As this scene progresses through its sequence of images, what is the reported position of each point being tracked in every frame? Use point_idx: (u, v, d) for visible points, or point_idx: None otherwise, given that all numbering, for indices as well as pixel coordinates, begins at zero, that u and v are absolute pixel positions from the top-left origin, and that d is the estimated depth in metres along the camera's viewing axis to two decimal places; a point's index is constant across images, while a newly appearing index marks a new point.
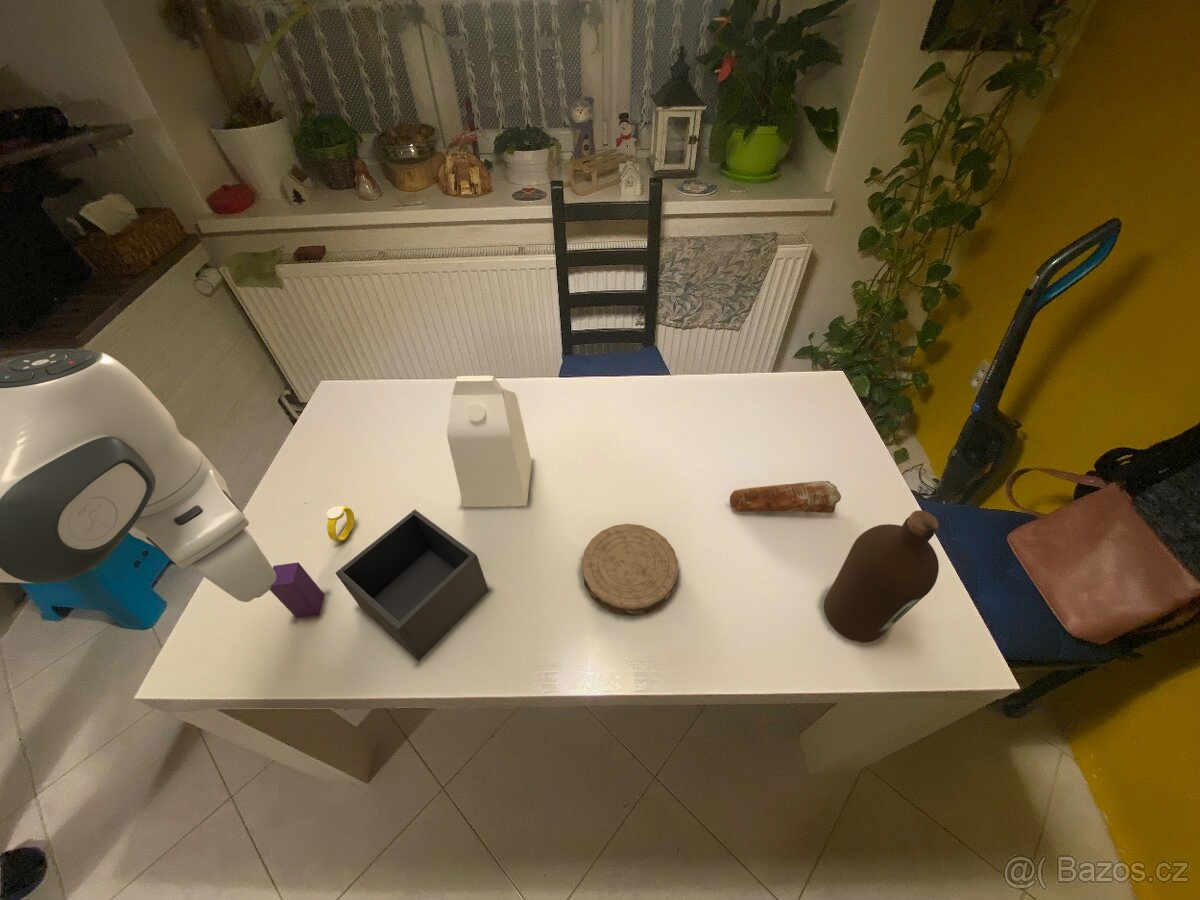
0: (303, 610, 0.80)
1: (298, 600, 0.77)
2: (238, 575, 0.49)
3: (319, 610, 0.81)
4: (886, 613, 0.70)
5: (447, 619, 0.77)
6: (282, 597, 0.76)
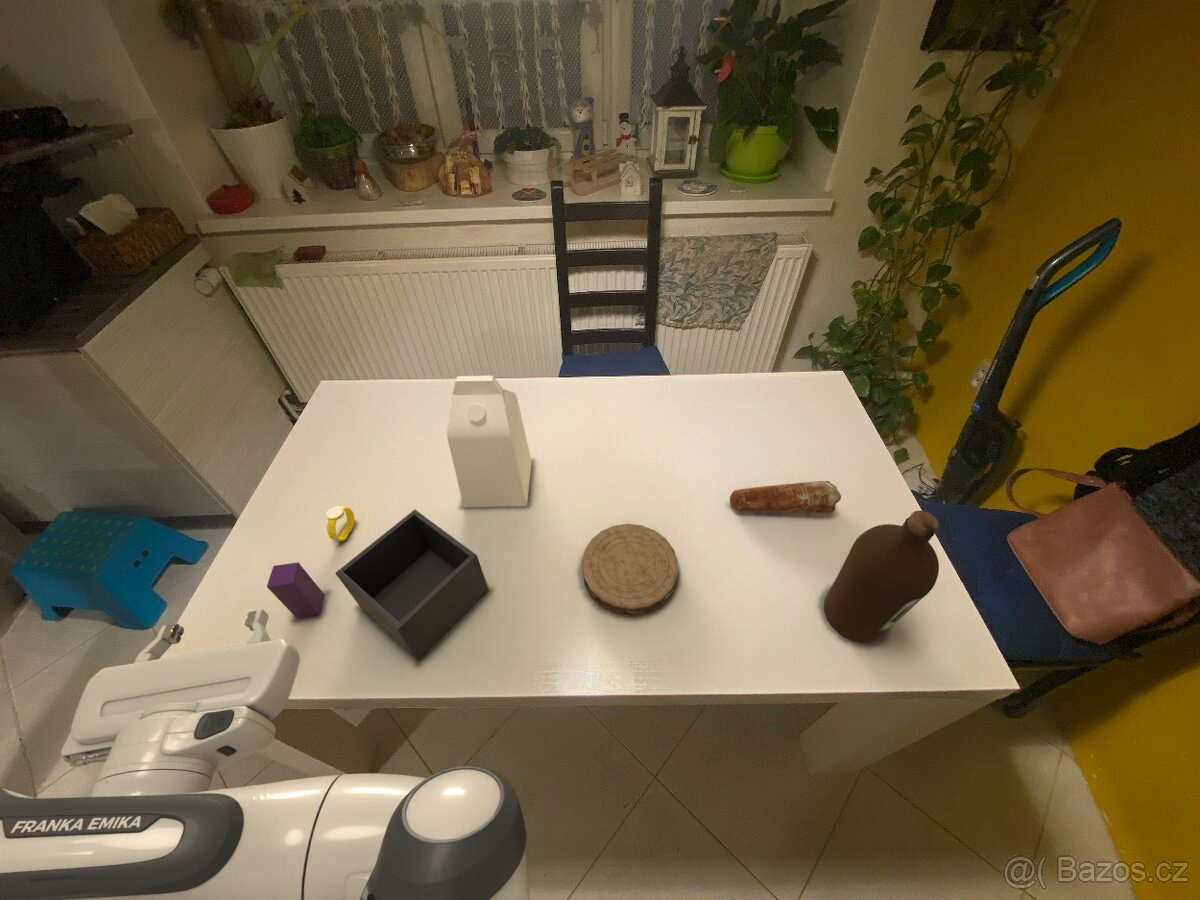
0: (303, 610, 0.80)
1: (298, 600, 0.77)
2: (286, 683, 0.55)
3: (319, 610, 0.81)
4: (886, 613, 0.70)
5: (447, 619, 0.77)
6: (282, 597, 0.76)
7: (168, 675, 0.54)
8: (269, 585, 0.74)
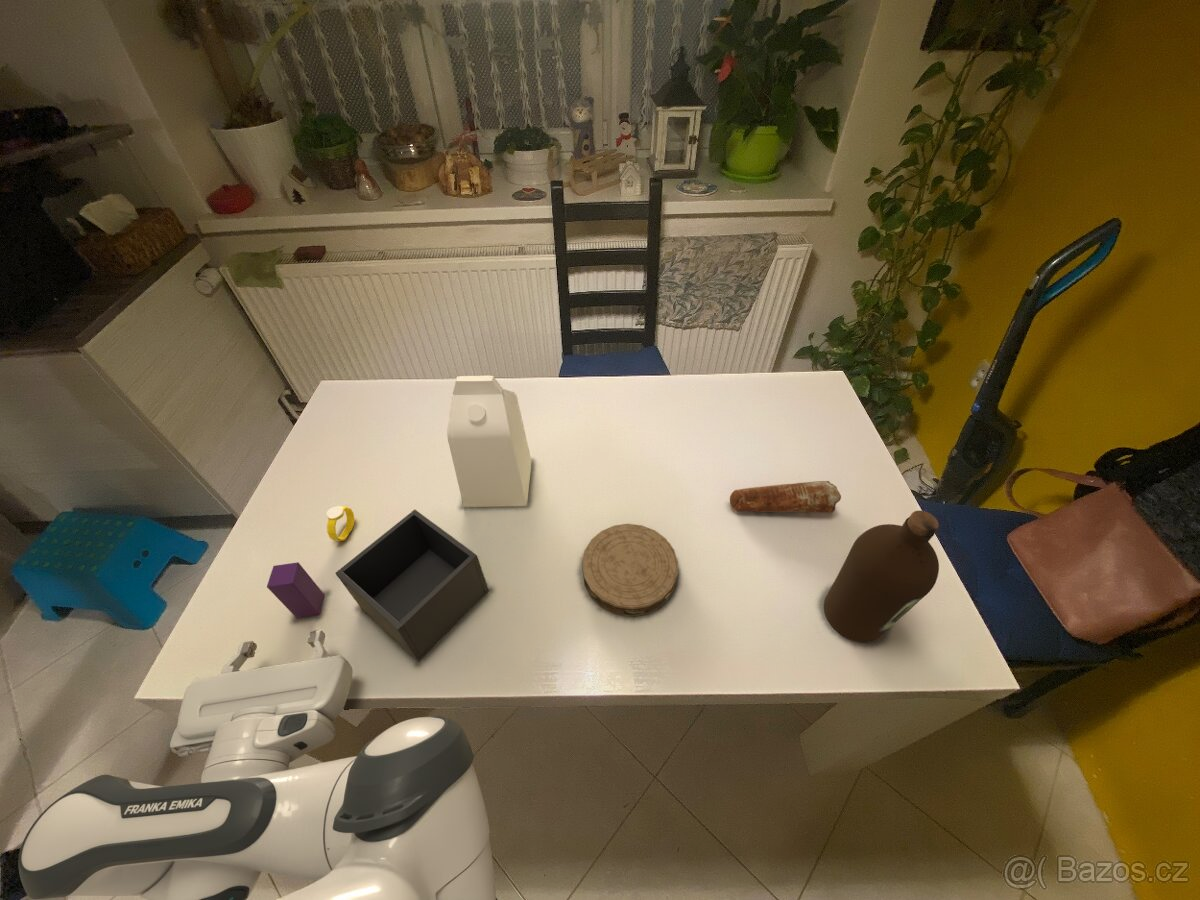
0: (303, 610, 0.80)
1: (298, 600, 0.77)
2: (343, 691, 0.68)
3: (319, 610, 0.81)
4: (886, 613, 0.70)
5: (447, 619, 0.77)
6: (282, 597, 0.76)
7: (250, 684, 0.67)
8: (269, 585, 0.74)
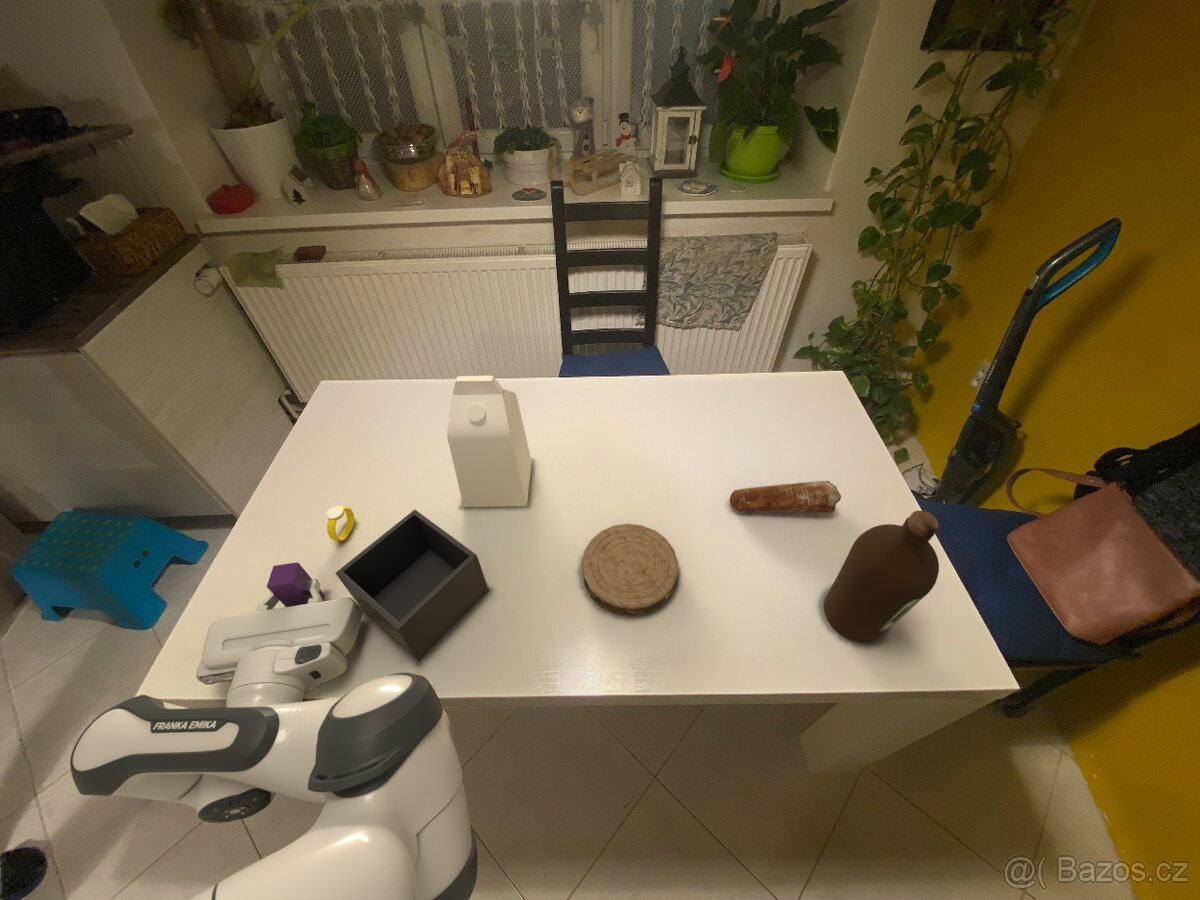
0: None
1: (298, 600, 0.77)
2: (353, 629, 0.74)
3: None
4: (886, 613, 0.70)
5: (447, 619, 0.77)
6: (282, 597, 0.76)
7: (268, 622, 0.73)
8: (269, 585, 0.74)
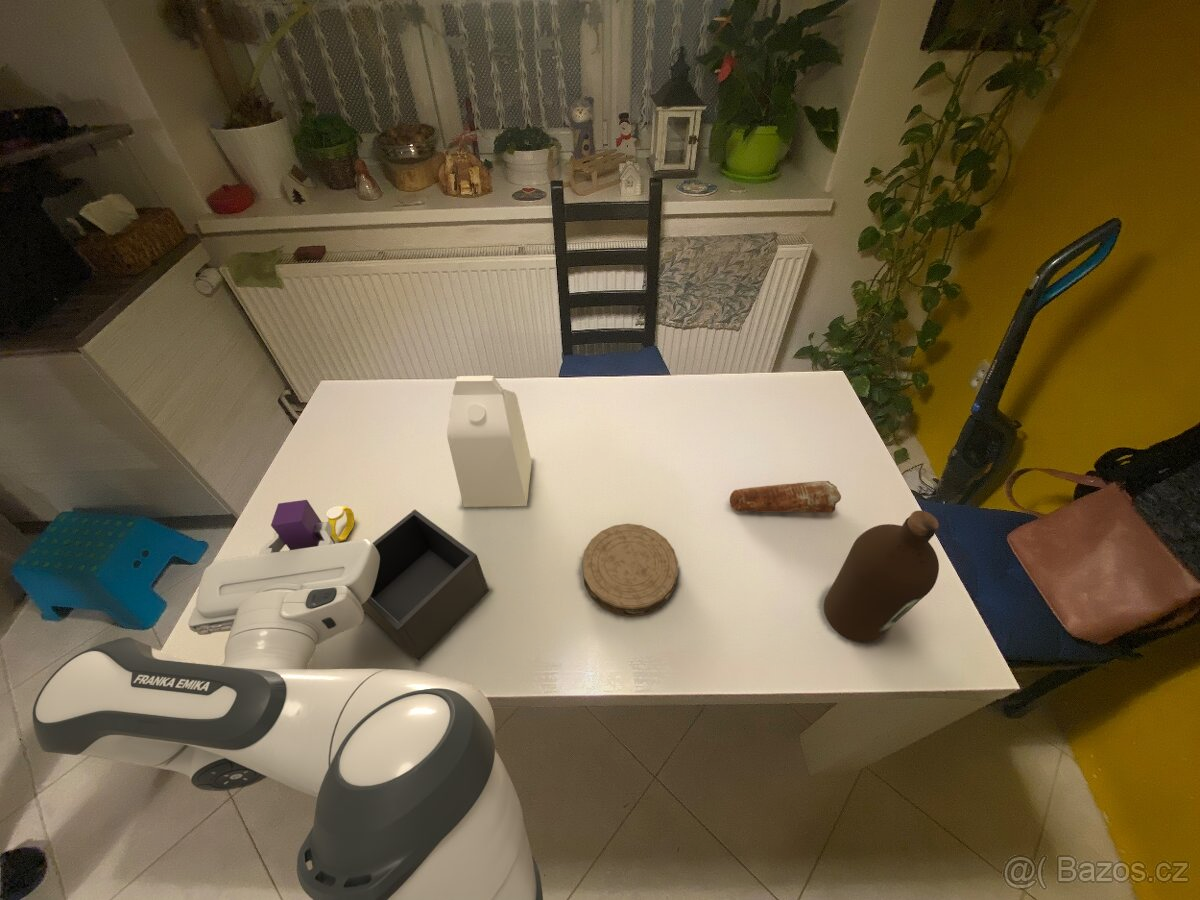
0: None
1: (306, 543, 0.67)
2: (372, 575, 0.64)
3: None
4: (886, 613, 0.70)
5: (447, 619, 0.77)
6: (288, 539, 0.66)
7: (273, 565, 0.63)
8: (274, 523, 0.64)
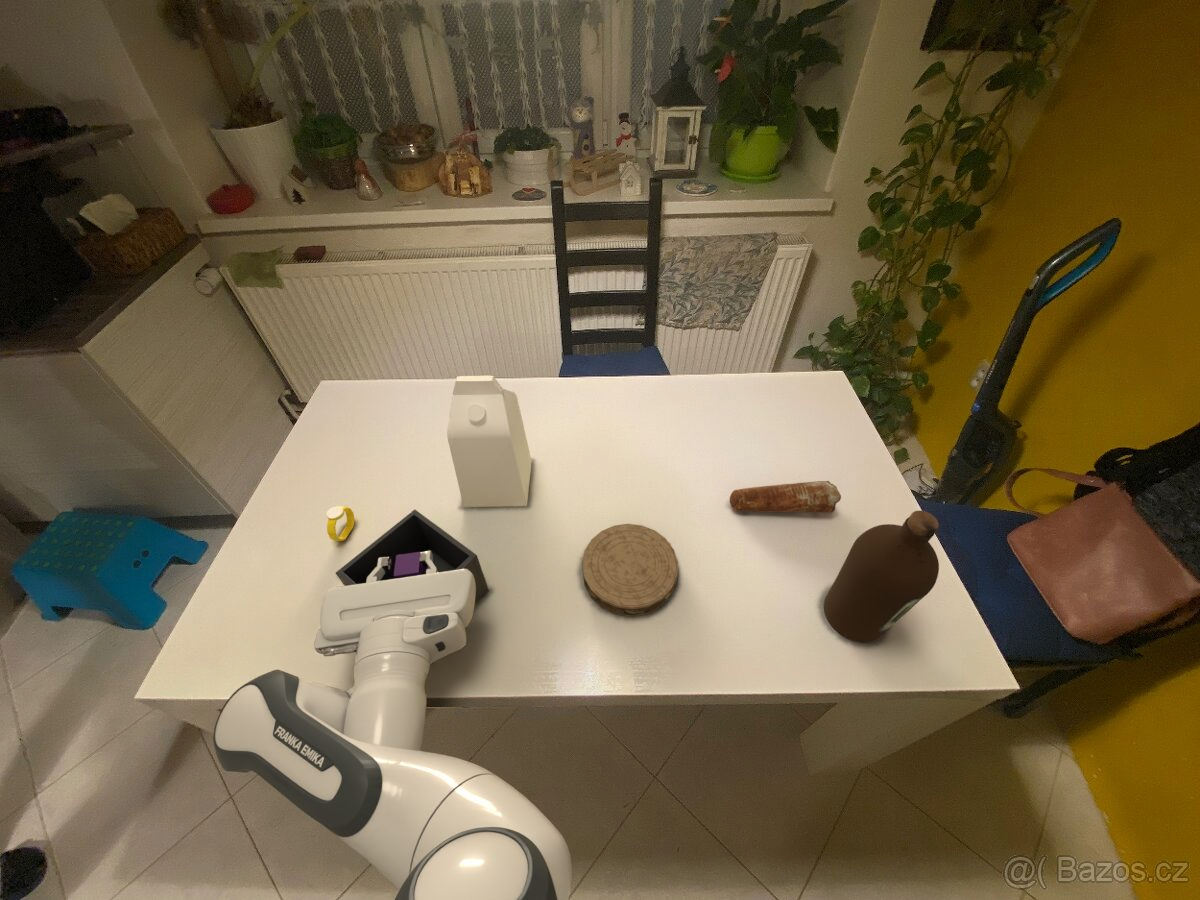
0: None
1: None
2: (472, 602, 0.71)
3: None
4: (886, 613, 0.70)
5: None
6: None
7: (385, 593, 0.69)
8: (396, 574, 0.74)
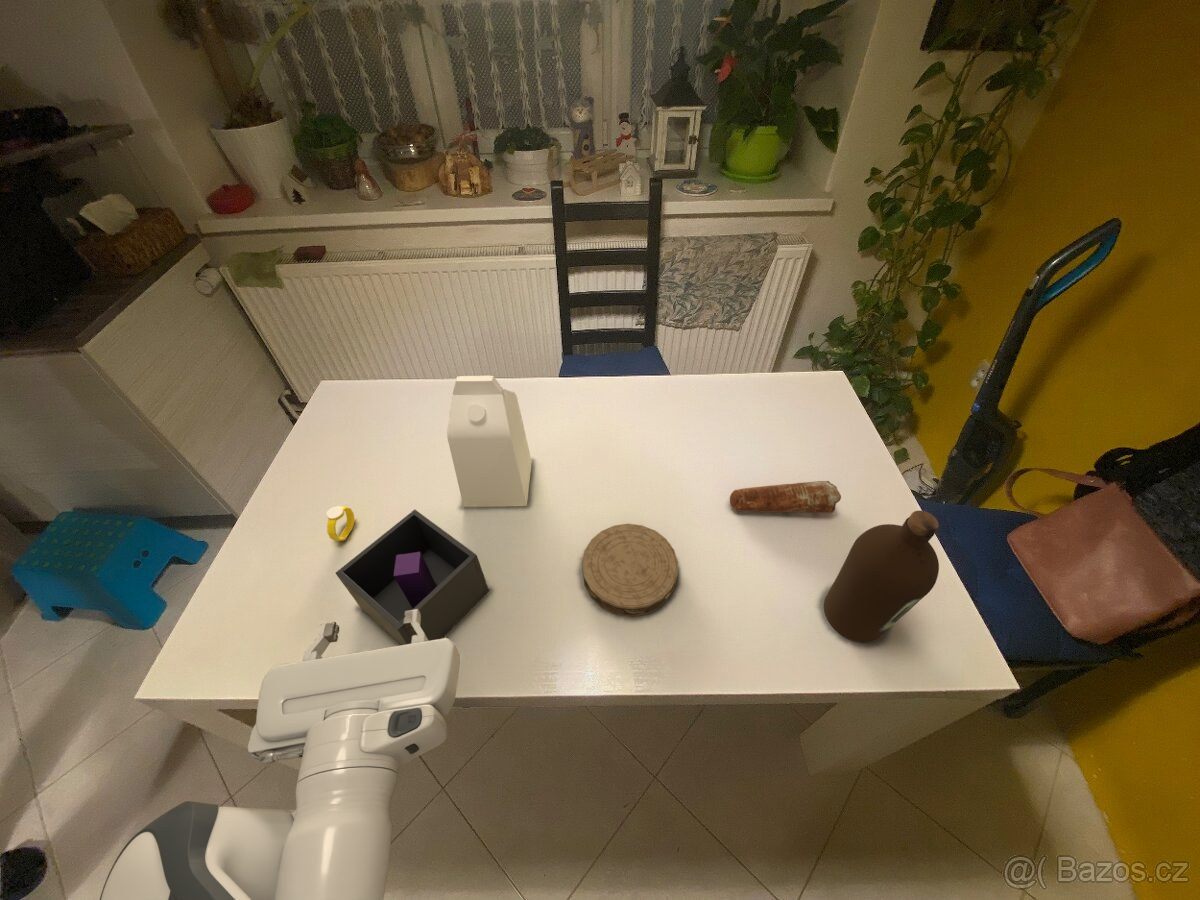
0: (420, 600, 0.80)
1: (419, 589, 0.78)
2: (454, 682, 0.56)
3: None
4: (886, 613, 0.70)
5: (447, 619, 0.77)
6: (405, 586, 0.76)
7: (342, 673, 0.54)
8: (396, 574, 0.74)
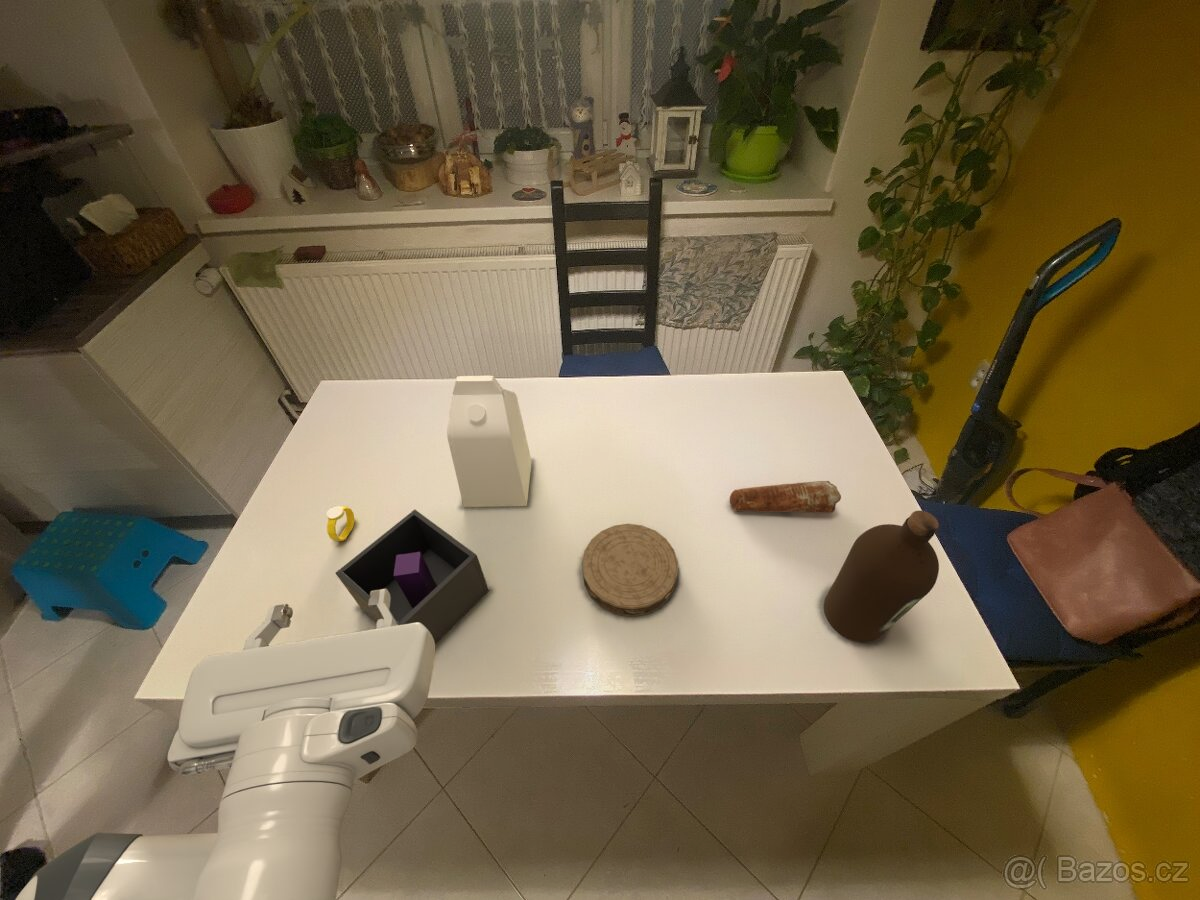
0: (420, 600, 0.80)
1: (419, 589, 0.78)
2: (427, 675, 0.46)
3: None
4: (886, 613, 0.70)
5: (447, 619, 0.77)
6: (405, 586, 0.76)
7: (289, 665, 0.44)
8: (396, 574, 0.74)
